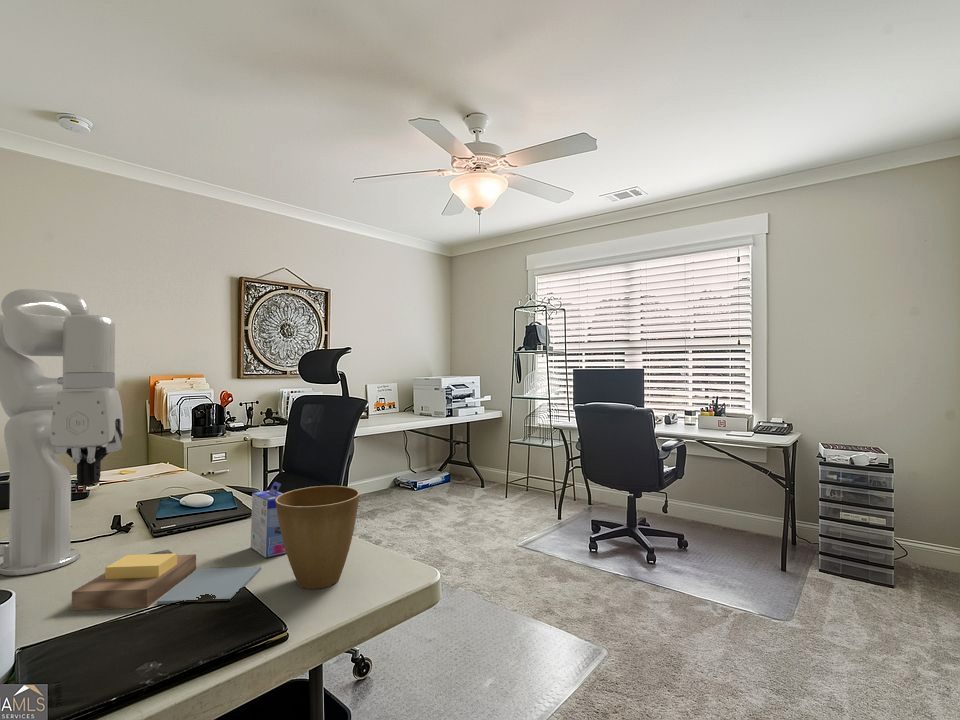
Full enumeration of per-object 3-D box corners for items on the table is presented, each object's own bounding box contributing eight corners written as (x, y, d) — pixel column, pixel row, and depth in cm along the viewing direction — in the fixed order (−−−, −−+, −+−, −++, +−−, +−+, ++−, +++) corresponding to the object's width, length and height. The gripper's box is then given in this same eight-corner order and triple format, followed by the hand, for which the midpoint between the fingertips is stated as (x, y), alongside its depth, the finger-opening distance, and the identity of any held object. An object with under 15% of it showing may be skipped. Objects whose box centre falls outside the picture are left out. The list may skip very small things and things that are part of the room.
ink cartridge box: (292, 552, 108) (292, 485, 108) (266, 559, 104) (266, 489, 105) (275, 541, 115) (274, 478, 116) (249, 547, 111) (249, 482, 112)
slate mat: (156, 604, 84) (157, 601, 84) (198, 571, 98) (198, 568, 98) (230, 601, 85) (230, 598, 85) (261, 569, 99) (261, 566, 99)
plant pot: (265, 579, 94) (265, 493, 94) (341, 560, 103) (341, 482, 103) (289, 607, 82) (289, 510, 83) (373, 583, 91) (372, 495, 92)
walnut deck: (71, 610, 82) (71, 591, 82) (133, 571, 98) (133, 556, 98) (147, 607, 83) (147, 589, 83) (196, 569, 99) (196, 554, 99)
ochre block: (105, 578, 87) (105, 567, 88) (127, 565, 93) (127, 555, 94) (158, 577, 88) (158, 565, 88) (177, 564, 94) (177, 553, 94)
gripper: (28, 384, 87) (27, 490, 86) (118, 382, 88) (117, 487, 87) (62, 383, 94) (61, 481, 94) (144, 382, 95) (144, 478, 95)
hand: (88, 484), depth 91 cm, fingers closed
